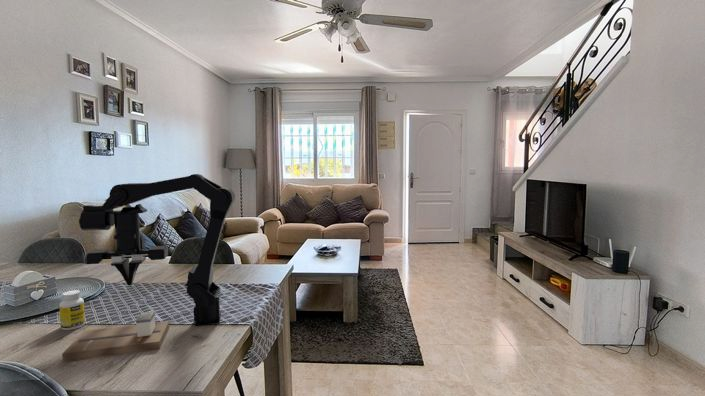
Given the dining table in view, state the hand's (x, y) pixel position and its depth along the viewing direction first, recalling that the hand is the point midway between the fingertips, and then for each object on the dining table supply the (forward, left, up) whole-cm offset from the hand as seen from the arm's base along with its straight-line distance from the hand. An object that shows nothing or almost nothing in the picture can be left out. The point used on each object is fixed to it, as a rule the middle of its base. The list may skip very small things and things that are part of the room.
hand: (130, 285), depth 99 cm
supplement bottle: (+16, -5, -12) cm, 21 cm away
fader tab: (-6, +10, -10) cm, 15 cm away
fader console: (0, +10, -12) cm, 16 cm away
